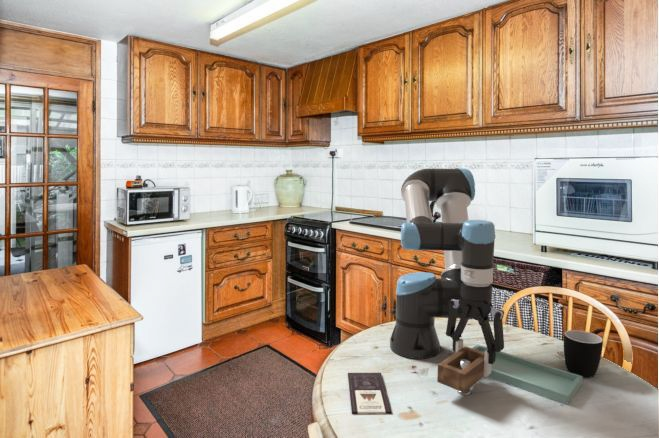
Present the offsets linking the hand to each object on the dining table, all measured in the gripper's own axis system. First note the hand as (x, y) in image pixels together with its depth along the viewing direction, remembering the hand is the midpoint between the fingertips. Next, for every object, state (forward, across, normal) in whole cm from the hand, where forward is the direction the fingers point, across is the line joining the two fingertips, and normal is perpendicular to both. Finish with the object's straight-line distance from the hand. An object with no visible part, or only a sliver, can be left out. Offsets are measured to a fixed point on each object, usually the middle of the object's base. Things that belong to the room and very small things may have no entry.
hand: (472, 368), depth 105 cm
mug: (+5, +17, +28) cm, 33 cm away
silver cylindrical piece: (+4, 0, -5) cm, 6 cm away
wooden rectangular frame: (0, 0, -4) cm, 5 cm away
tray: (+4, +6, +13) cm, 15 cm away
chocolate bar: (+5, -17, -22) cm, 28 cm away
